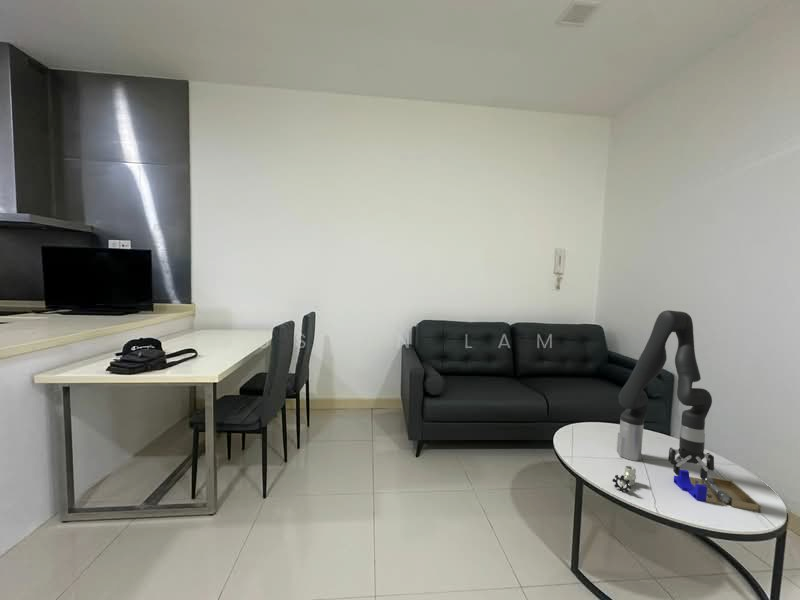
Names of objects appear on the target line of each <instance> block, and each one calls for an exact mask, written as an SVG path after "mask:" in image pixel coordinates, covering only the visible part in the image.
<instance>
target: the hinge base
mask: <svg viewBox="0 0 800 600" xmlns="http://www.w3.org/2000/svg"><path fill="white" fill-rule="evenodd" d="M689 478H690V481H691V484H692V485H693V487H694V488H695V484H699V485H705V486H706V487H707V494H706V502H705V503H710V504H714V505H715V504H716V505H719V506H720V505H721V506H726V505H727V506H730V507H731V508H736V509H740V510H745V511H751V512H755V513H761V509H762V506H761V505H760V504H759V503H758V502H757V501H756V500H754V499H753V498H752V497H751V495H749V494H748V493H747V492H746V491H744V490H743V489H742V488H741V487H740V486H738V484H737V483H735V482H734V481H733V480H730V479H726V478H720V477H712V476H709V475H707V478H706V479H705V480H702V479H701V478H700V477H699V478H698V477H693V476H689Z"/></svg>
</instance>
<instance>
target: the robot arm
mask: <svg viewBox="0 0 800 600" xmlns="http://www.w3.org/2000/svg"><path fill="white" fill-rule="evenodd" d="M672 333H675V335H676V338H677V349H676V353H675V358H674V365H675V370H676V375H677V387H676V388H677V391H676V396H677V399H678V402H680V403H681V404H682V405H684V406H686V407H691V408H689V409H686V410H683V411H682V413H681V425H680V428H679V442H678V443H679V448H678V449H675V448H673V447H669V450H668V458H667V461H668V463H670V465H673V468H672V469H673V473H674V474H675V476H679V474H680V469H681V467H680V466H682V465H684V464H685V463H689V464H691V463H692V464H695V465H696V464H698V465H699V466H700V473H699V478H700V479H702V480H705V479H706V478H707V476H708V471H714V470H715V457H714V455H713V454H711V453H710V452H706V453H704V452H705V444H706V443H705V441H706V440H705V439H706V433H705V432H706V431H705V429H706V428H705V426H706V425H705V424H706V418H707V415H708V413H709V411H710V409H711V406H712V403H713V398H712V395H711V393H710V391H708V390H707V389H705V388H701V387H700V388H699V387H698V388H697V387H696V388H695V387H694V388H693V383H697V382H699V381H701V380H702V378H701V373H700V370H699V365H698V363H697V359H696V352H695V338H694V323H693V319H692V317H691V315H690V314H689V313H687V312H685V311H678V310H670V309H669V310H664V311H662V312H660V313H659V314H658V316H657V317H656V320H655V322H654V324H653V327H652V330H651V333H650V336H649V338H648V340H647V342H646V344H645V347H644V349H643V351H642V352H641V354H640V356H639V357H638V360H637V362H636V365H635V366H634V368H633V369H632V372H631V374H630V375H629V378H628V379H627V381H626V382H625V384H624V385H623V387H622V388H621V390H620V392H619V394H618V397H617V398H618V402H619V404H620V406H621V407H623V408H624V409H625V410H624V411H623V412H621V414H620V420H619V422H620V423H619V432H618V433H617V441H616V452H617V454H618V455H619V457H620V458H624V459H627V460H630V461H638V462H639V461H641V459H642V451H643V450H642V449H643V448H642V447H643V438H644V437H643V435H644V426H645V425H644V423H645V420H646V418H647V416H648V415H647V413H648V408H649V407H648V406H649V397H648V394H647V393H646V392H645V390H644V389H645V388H646V386H647V385H648V384H650V383H651V382H652V381H653V380H654V379H655V378H657V377H658V376H659V375H660V373H661V371H662V369H663V368H664V366H665V364H666V362H667V350H666V349H667V348H666V343H667V341H668V339H669V338H670V335H671V334H672ZM677 454H679V455H678V456H677ZM676 456H677V457H676ZM703 459H706V464H705V463H704V461H703Z"/></svg>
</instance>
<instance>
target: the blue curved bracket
mask: <svg viewBox="0 0 800 600" xmlns="http://www.w3.org/2000/svg"><path fill="white" fill-rule="evenodd" d="M689 477H690V472H689V470H687V469H682V468H680V474H679V476H677V475H673V483H674V484H675V485H676V486H677V487H678V488H679V489H680V490H681V491H683V492H687V493H688V494H689V495H690V496H691V497H692V498H694V500H696V501H697V502H705V503H707V502H706V494H707V487H706V486H705V485H699V484H695V488H694V487H693V485H692V484H691V481H690V478H689Z"/></svg>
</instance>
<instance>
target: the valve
mask: <svg viewBox="0 0 800 600" xmlns="http://www.w3.org/2000/svg"><path fill="white" fill-rule="evenodd" d="M636 472H637V469H636V468H635V467H633V466H631V465H625V468H624V472H623V475H622V474H621V475H620V477H619V475H618V474H615V475H614V478H612V480H611V481H612V482H613V483H615V484H614V485H613V487H614V488H618V489H619V492H620V491H622V492H621V493H623V492H624V491H625V493H630V490H631V489H632V488H633V486H635V483H636V479H637V475H636ZM618 481H619V484H618ZM628 484H629V485H628ZM632 485H633V486H632Z"/></svg>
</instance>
